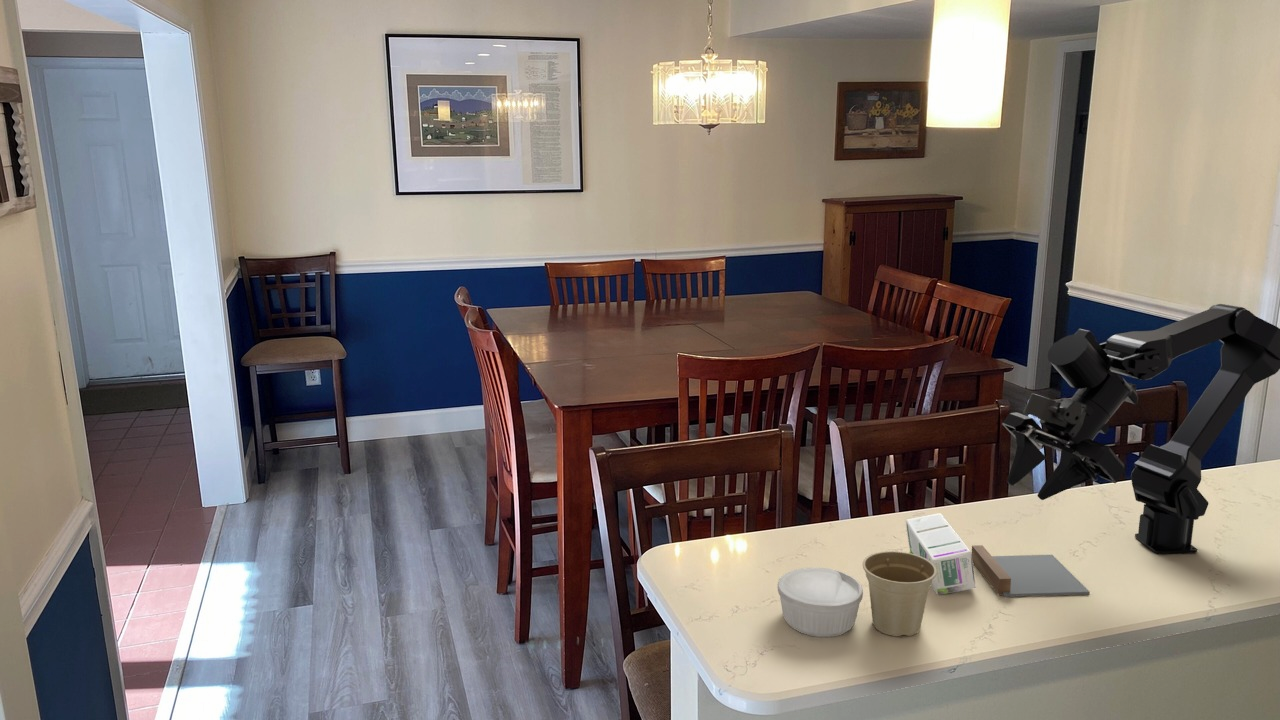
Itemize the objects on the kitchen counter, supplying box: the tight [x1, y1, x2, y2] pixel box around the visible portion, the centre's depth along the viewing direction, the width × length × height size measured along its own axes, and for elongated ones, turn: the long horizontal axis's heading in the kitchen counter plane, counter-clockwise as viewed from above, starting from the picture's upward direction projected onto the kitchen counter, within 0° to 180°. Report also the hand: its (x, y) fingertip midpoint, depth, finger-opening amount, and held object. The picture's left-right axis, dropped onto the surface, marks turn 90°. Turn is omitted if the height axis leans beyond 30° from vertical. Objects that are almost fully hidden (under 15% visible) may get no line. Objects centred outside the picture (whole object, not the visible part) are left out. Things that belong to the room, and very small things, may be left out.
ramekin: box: [777, 567, 864, 638], centre depth 123 cm, size 11×11×5 cm
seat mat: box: [991, 554, 1091, 598], centre depth 134 cm, size 12×12×1 cm
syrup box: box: [905, 512, 977, 596], centre depth 136 cm, size 6×6×14 cm
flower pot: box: [862, 550, 937, 637], centre depth 121 cm, size 9×9×9 cm
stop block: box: [971, 544, 1011, 596], centre depth 134 cm, size 2×11×2 cm, turn 0°
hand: (1024, 490), depth 131 cm, fingers open, 6 cm apart
